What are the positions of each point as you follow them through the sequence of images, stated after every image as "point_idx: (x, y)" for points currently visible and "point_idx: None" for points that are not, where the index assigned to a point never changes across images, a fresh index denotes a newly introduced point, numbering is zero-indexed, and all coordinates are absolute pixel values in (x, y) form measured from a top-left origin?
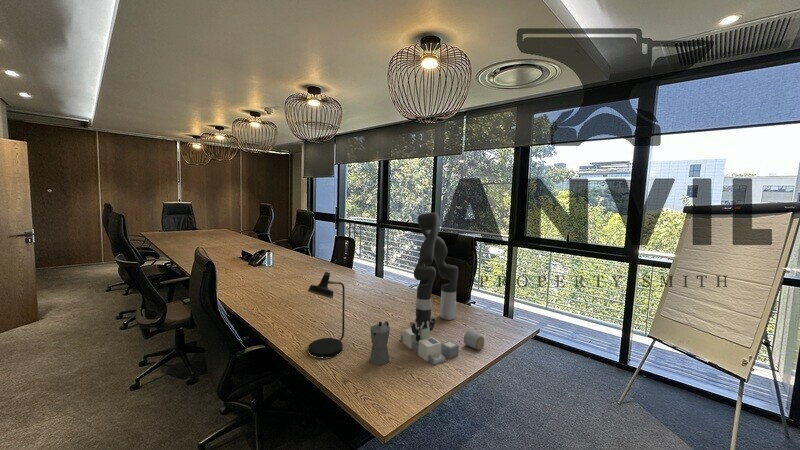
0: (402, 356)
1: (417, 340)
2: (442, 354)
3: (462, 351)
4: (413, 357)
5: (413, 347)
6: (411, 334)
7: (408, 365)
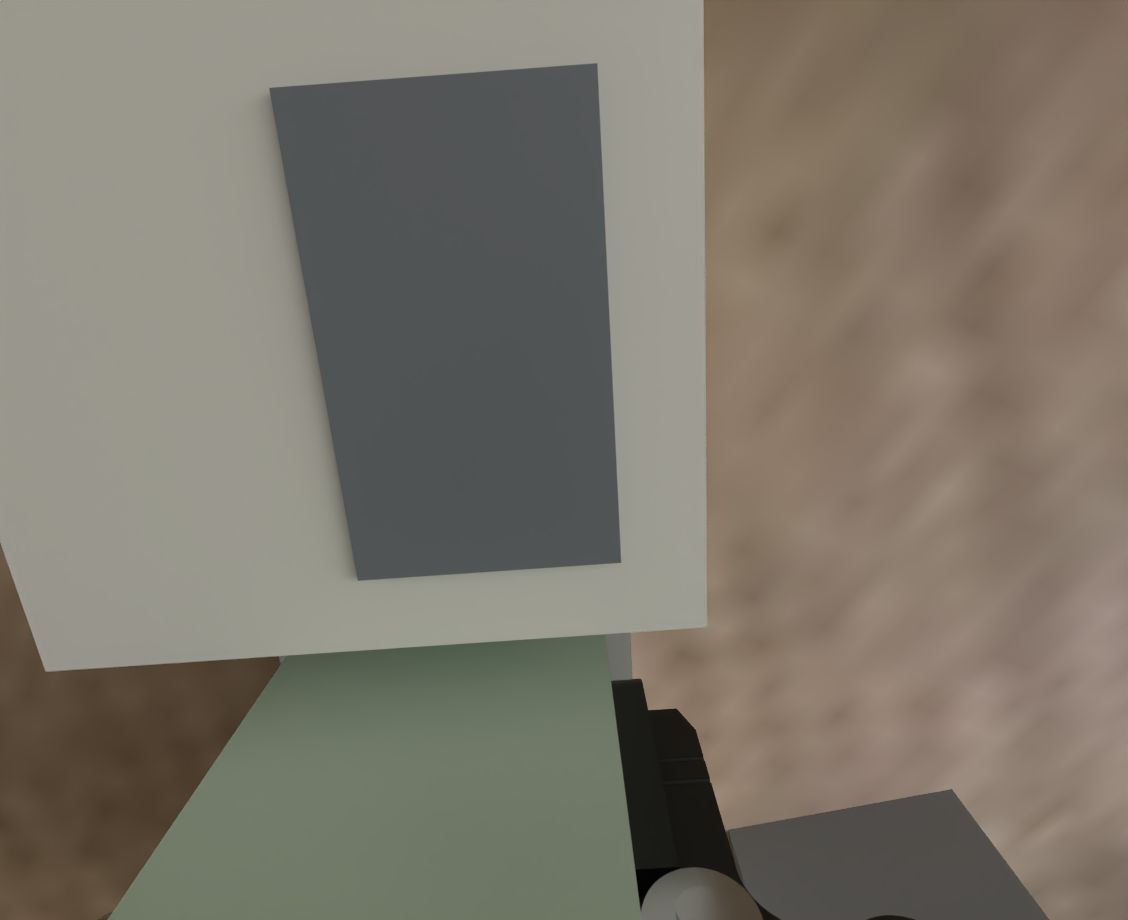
0: (14, 668)
1: None
2: (737, 871)
3: (1114, 899)
4: (209, 764)
5: None
6: (79, 630)
7: (41, 913)
